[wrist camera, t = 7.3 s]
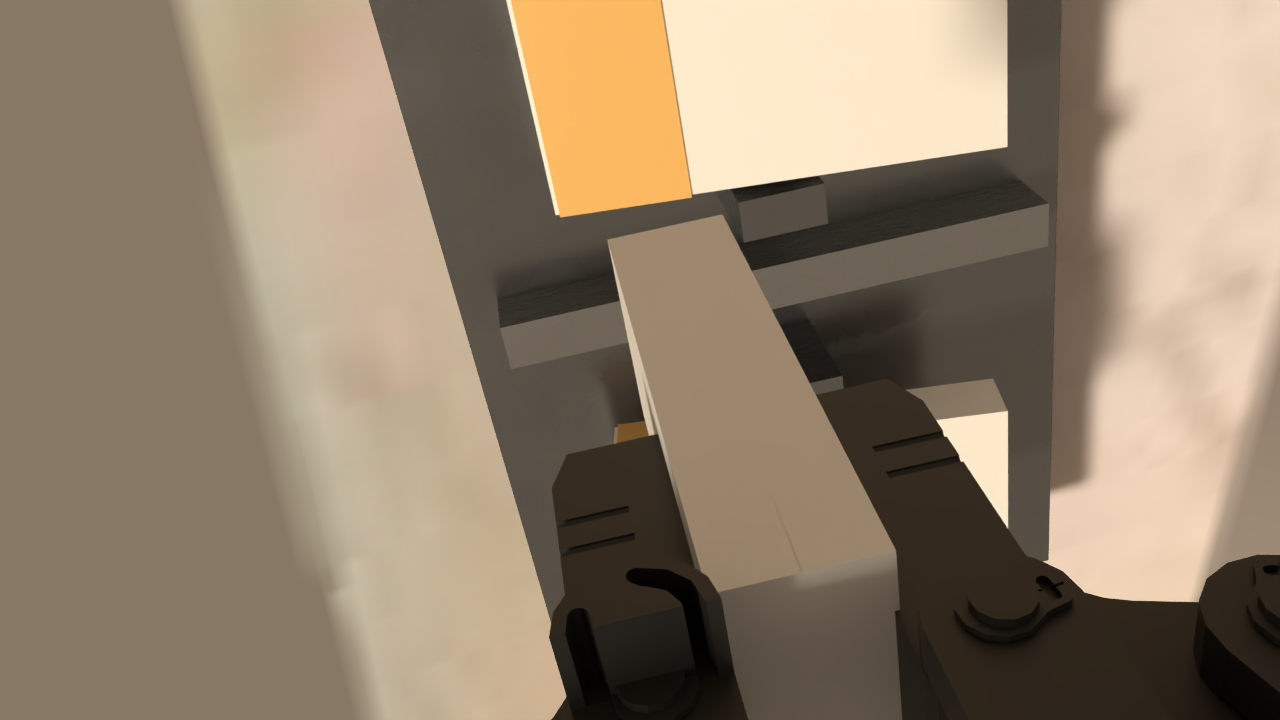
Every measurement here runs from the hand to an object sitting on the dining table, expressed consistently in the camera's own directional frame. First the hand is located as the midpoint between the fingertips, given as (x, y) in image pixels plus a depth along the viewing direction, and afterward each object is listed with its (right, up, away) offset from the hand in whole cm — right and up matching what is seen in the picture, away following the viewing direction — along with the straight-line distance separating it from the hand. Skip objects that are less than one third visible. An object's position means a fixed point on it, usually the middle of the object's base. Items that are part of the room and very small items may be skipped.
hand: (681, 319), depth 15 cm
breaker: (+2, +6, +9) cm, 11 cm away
